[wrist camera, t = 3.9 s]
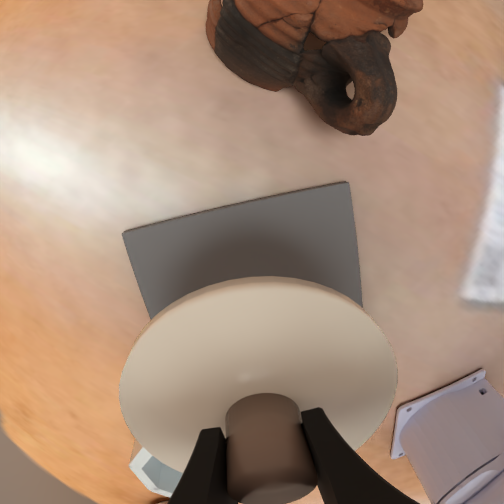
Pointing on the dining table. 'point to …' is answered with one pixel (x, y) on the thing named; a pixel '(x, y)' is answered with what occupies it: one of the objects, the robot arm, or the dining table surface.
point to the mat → (250, 245)
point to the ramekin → (153, 471)
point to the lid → (257, 379)
